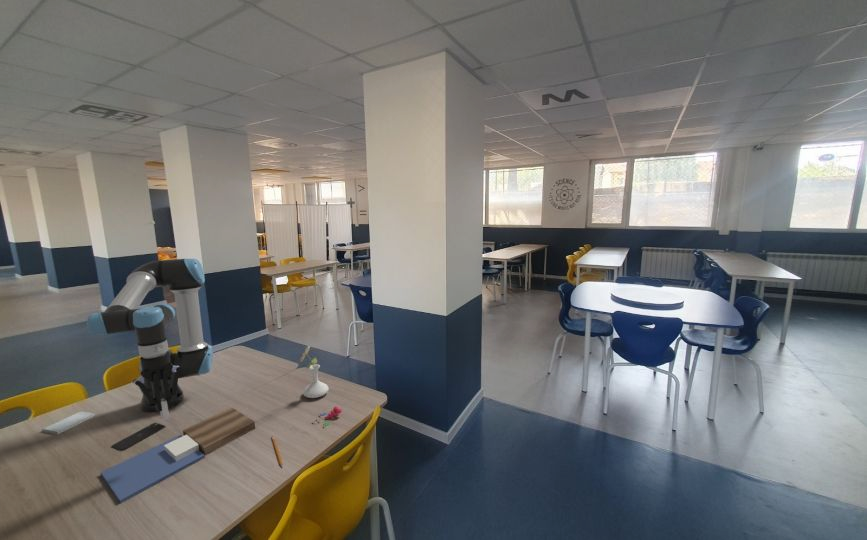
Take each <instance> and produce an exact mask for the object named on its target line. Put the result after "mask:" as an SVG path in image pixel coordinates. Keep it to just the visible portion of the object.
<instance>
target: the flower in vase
mask: <svg viewBox="0 0 867 540" xmlns="http://www.w3.org/2000/svg"><path fill="white" fill-rule="evenodd" d="M310 349H311V346H309V345H308V346H307V347H305V350H304V352H303V353H302V356H301V357H300V358H299V362H303V360H304V359H305V358H306V357H308V359H309V360H310V363H309V364H308V365H307V367H306V370H308V369H309V370H310V372H311V375H312V381H311V383H309V384H308V385H307V386H306V387H305V388H304V389H303V392H302V394H303V396H304V397H306V398H308V399H316V398H320V397H324V396H325V395H326V394H327V393H328V392H329V389H330V388H329V386H328V385H327V384H326V383H324V382H322V381H320V380H319V378H318V373H319V369H320V367H321V365H320V364H318V359H317V357H316V356H315V357H314V358H313V359H311V357H310V356H309V354H308V353H309V351H310Z"/></svg>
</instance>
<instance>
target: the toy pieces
mask: <svg viewBox="0 0 867 540" xmlns="http://www.w3.org/2000/svg"><path fill="white" fill-rule="evenodd" d="M327 413H329V414H328V415H327ZM327 413H326V412H323V414H321V413H319V414H320V416H325V415H327V416H326V418H324V419H327V420H330V419H333V417H334V418H337V417H338V416H339V414H341V413H343V409H341V408H340V407H339V406H338V405H335V406H334V407H333V408H332V409H331V410H330V412H327ZM317 421H318V420H317ZM317 421H314V422H317ZM324 422H325V423H324ZM324 422H323V423H324V424H323V423H322V424H323V426H325V427H326V426H329V425H331V424H330V423H329V422H330V421H324ZM331 426H332V425H331Z"/></svg>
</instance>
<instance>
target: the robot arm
mask: <svg viewBox="0 0 867 540" xmlns="http://www.w3.org/2000/svg"><path fill="white" fill-rule="evenodd" d="M205 281H206V278H205V271H204V269H203V265H202V263H201V262H200V260H198V259H197V258H177V259H176V258H175V259H163V260H162V259H159V260H153V261H152V260H151V261H149V262H147V263H146V262H145V263H144V264H141V265H140V266H139V267H137V268H135V269H134V270H133V271H132V272H131V273H129V275H128V276H127V277H126V284H125V285H124V286H122V289H121V290H120V291H119V293H117V295H116V296H115V298H114V299H113V300H112V301H111V303H110V304H109V305H108V306H107V308H106V309H105V310H104V311H98V312H95V313H91V314H89V315H88V317H87V320H86V327H87V330H88V332H89V333H90V334H91V335H92V336H101V335H102V336H103V335H104V336H105V335H106V336H108V335H112V334H120V333H128V332H134V333H135V338H136V344H137V348H138V349H137V350H138V355H139V357H140V358H139V372H140V376H139V377H138V378H135V379H133V380H132V383H133V384H135V386H137V387H138V388H139V390H140V392H141V393H142V396H141V401H140V408H141V409H140V410H141V411H143V412H146V413H147V412H148V413H149V412H151V413H152V412H158V413H160V416H161V417H160V418H161V419H163V420H164V421H166V420H167V419H170V413H169V412H170V411H169V408H171V407H173V406H175V405H177V404H179V403H180V402H182V401H183V399H184V397H185V396H184V391H183V390H182V388H181V386H180V385H179V384H178V383H179V379H183V378H190V377H195V376H200V375H205V374H209V372H211V370H212V367H213V362H214V349H213V347H209V344H208V343H207V342H205V341H204V334H203V325H202V324H203V323H202V315H201V307H200V299H199V290H200V289H201V288H202V284H204V283H205ZM162 287H168V288H169V291H170V292H171V293H173V294H174V300H175V308H174V307H173V306H171V305H169V303H168V304H167V303H158V304H156V305H154V306H148V307H142V308H140V305H141V304H142V302H143V301H144V299H145V297H146V296H147V294H149V292H150V291H151V292H152V290H154V289H155V288H162ZM175 309H176V311H175ZM175 316H176V318H177V324H178V332H179V341H180V345H179V347H178V348H177V351H176V352H173V351H172V350H171V349H169V342H168V339H167V338H168V337H167V330H166V328H167V327H168V326H169V325H170V324H171V323H172V322H173V321H174V318H175Z"/></svg>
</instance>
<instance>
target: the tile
mask: <svg viewBox="0 0 867 540" xmlns="http://www.w3.org/2000/svg"><path fill="white" fill-rule="evenodd" d="M164 449H165V451H166V452H167V453H168V454H169V455H170V456H171V457H172V458H173V459H174V460H175V461H178V460H180V459H182V458H184V457H186V456H188V455H190V454H191V453H193V452H195V451H197V450H199V444H197V443H196V442H195V441H194V440H193V439H191V438H190V437H189V436H188V435H182V437H180V438H178V439H176V440H174V441H172V442H170V443H168V444H166V445H164Z"/></svg>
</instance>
